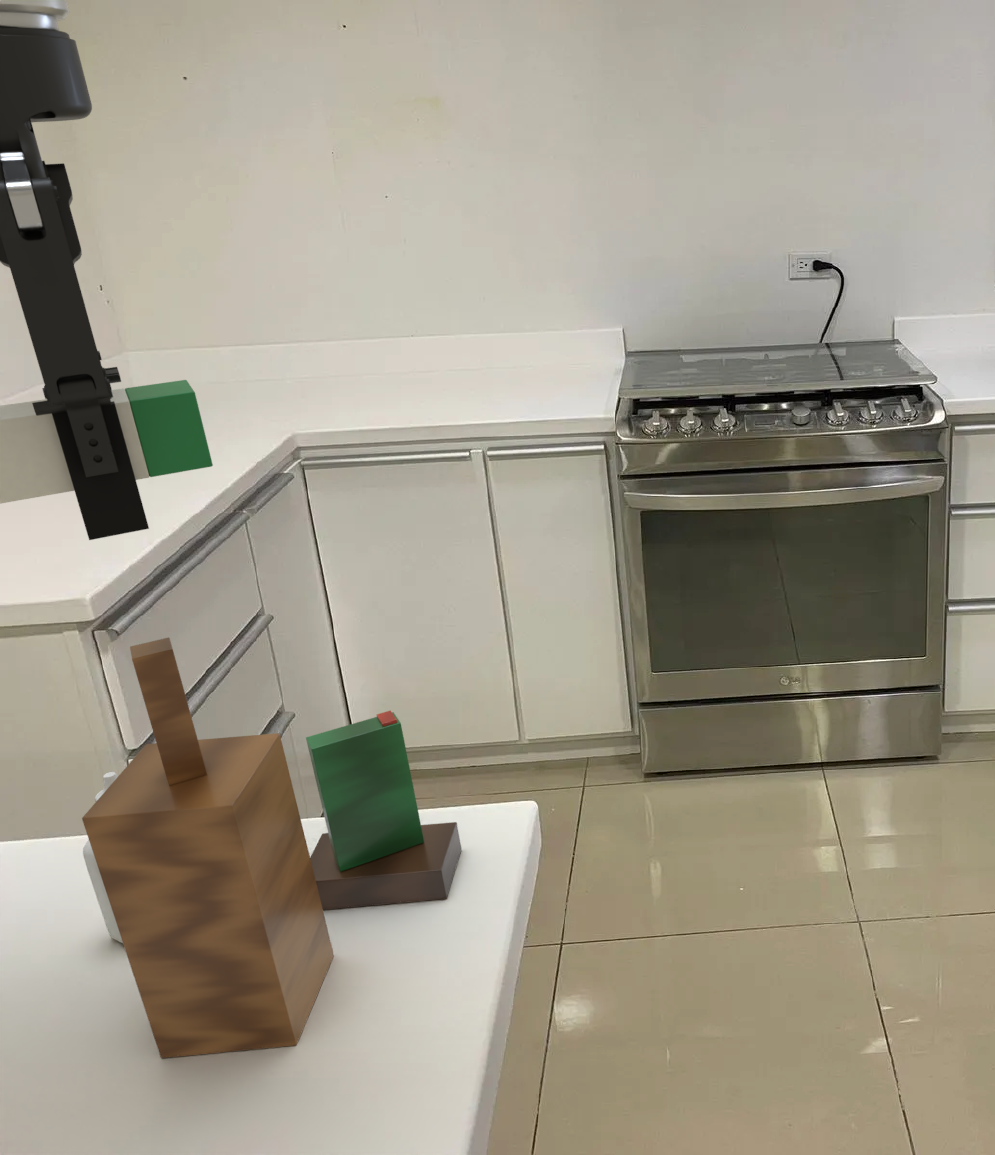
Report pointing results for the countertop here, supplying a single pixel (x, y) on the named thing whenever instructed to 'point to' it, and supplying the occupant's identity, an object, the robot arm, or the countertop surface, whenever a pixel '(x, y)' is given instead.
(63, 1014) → the countertop surface
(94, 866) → the eye dropper bottle
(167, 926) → the stand
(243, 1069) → the countertop surface
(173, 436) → the white green block
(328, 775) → the green carton
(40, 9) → the robot arm
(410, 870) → the dark brown block
